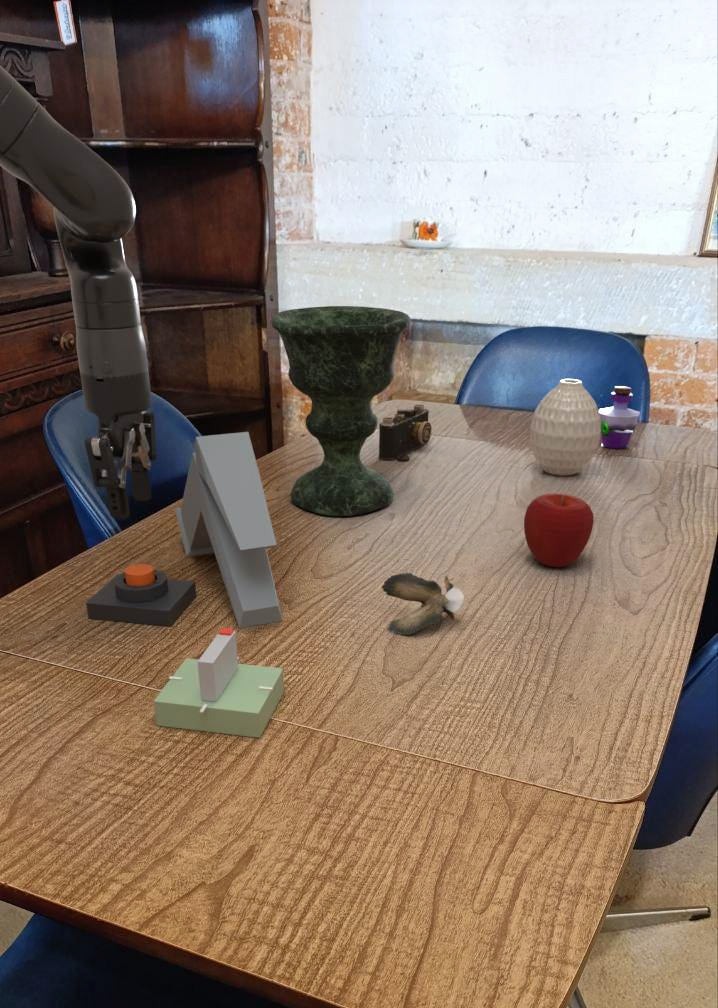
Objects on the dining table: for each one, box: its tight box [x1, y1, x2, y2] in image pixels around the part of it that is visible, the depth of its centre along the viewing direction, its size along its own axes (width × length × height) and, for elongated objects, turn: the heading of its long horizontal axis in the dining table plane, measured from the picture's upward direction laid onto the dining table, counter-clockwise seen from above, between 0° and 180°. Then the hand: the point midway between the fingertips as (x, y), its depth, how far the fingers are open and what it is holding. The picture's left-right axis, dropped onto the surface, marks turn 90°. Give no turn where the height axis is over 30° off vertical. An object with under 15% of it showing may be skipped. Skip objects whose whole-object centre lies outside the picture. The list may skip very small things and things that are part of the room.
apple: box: [523, 493, 595, 568], centre depth 125 cm, size 10×10×10 cm
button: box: [124, 563, 155, 586], centre depth 111 cm, size 4×4×2 cm
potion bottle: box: [598, 385, 641, 451], centre depth 178 cm, size 9×9×12 cm
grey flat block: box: [198, 627, 239, 702], centre depth 90 cm, size 7×2×5 cm, turn 168°
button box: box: [85, 569, 197, 627], centre depth 112 cm, size 11×9×4 cm
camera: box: [378, 404, 433, 462], centre depth 175 cm, size 16×7×8 cm, turn 148°
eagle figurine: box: [381, 572, 465, 636], centre depth 108 cm, size 8×7×9 cm
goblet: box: [270, 305, 412, 517], centre depth 144 cm, size 22×23×30 cm
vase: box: [529, 378, 602, 477], centre depth 162 cm, size 13×13×17 cm
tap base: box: [153, 656, 285, 739], centre depth 91 cm, size 11×11×3 cm
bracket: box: [174, 431, 283, 629], centre depth 117 cm, size 8×27×25 cm
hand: (131, 507), depth 107 cm, fingers open, 5 cm apart
